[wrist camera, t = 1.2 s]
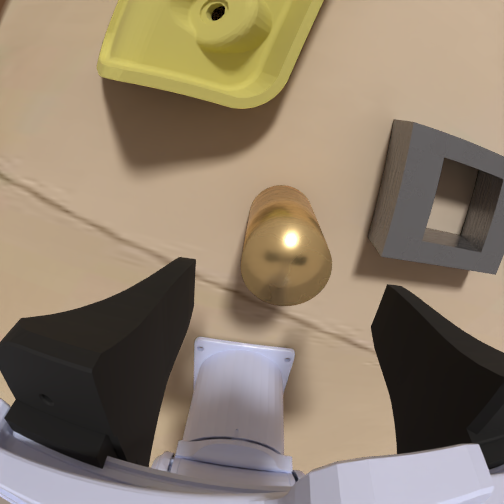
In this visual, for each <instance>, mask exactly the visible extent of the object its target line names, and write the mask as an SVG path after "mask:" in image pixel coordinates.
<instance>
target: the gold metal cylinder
mask: <svg viewBox="0 0 504 504" xmlns="http://www.w3.org/2000/svg"><path fill="white" fill-rule="evenodd" d="M331 270H332V258H331V254H330V251H329V249H328V246H327V244H326V241H325V239H324V236H323V234H322V231H321V229H320V226H319V224H318V221H317V219H316V217H315V214H314V212H313V209H312V207H311V205H310V202H309V201H308V199H307V198H306V196H305V195H304V194H303V193H302V192H300V191H299V190H297V189H295V188H293V187H290V186H283V185H280V186H273V187H270V188H267V189H265V190H264V191H262V192H261V193H260V194H259V195H258V196H257V197H256V198H255V199H254V201H253V203H252V205H251V208H250V213H249V219H248V225H247V230H246V236H245V242H244V247H243V253H242V259H241V274H242V278H243V280H244V283H245V284H246V286H247V288H248V289H249V290H250V291H251V292H252V293H253V294H254V295H255V296H256V297H258V298H259V299H261V300H262V301H265V302H267V303H270V304H273V305H278V306H292V305H297V304H301V303H304V302H306V301H308V300H310V299H312V298H313V297H315V296H316V295H317V294H318V293H319V292H320V291H321V290H322V289H323V288H324V287H325V285H326V284H327V282H328V280H329V277H330V275H331Z"/></svg>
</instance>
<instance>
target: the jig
mask: <svg viewBox="0 0 504 504" xmlns="http://www.w3.org/2000/svg"><path fill="white" fill-rule="evenodd" d="M444 157H445V158H448V159H451V160H454V161H457V162H460V163H462V164H465V165H468V166H471V167H474V168H476V169H479V172H478V176H477V180H476V184H475V188H474V192H473V196H472V200H471V203H470V207H469V210H468V213H467V217H466V220H465V223H464V226H463V230H462V233H461V235H457V234H452V233H448V232H443V231H438V230H434V229H429V228H426V226H427V223H428V219H429V216H430V212H431V209H432V205H433V201H434V198H435V194H436V190H437V186H438V182H439V178H440V174H441V170H442V165H443V161H444ZM368 238H369V240H370V241H371V242H372V244H373V245H374V247H375V248H376V250H377V251H378V253H379V254H380V256H381V257H387V258H394V259H400V260H407V261H413V262H420V263H426V264H433V265H439V266H445V267H452V268H458V269H464V270H471V271H477V272H483V273H489V274H495V275H496V273H497V270H498V268H499V265H500V263H501V260H502V257H503V255H504V157H503V156H501V155H499V154H497V153H495V152H492V151H490V150H488V149H485V148H483V147H481V146H478V145H476V144H473V143H471V142H468V141H466V140H463V139H461V138H458V137H455V136H453V135H450V134H447V133H445V132H442V131H439V130H436V129H433V128H430V127H427V126H424V125H421V124H418V123H415V122H409V121H402V120H395V119H394V122H393V127H392V133H391V138H390V143H389V149H388V154H387V159H386V163H385V168H384V173H383V177H382V182H381V186H380V190H379V195H378V199H377V203H376V207H375V211H374V215H373V219H372V223H371V227H370V230H369V234H368Z"/></svg>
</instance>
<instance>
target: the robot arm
mask: <svg viewBox="0 0 504 504" xmlns="http://www.w3.org/2000/svg"><path fill="white" fill-rule="evenodd" d="M195 267H196V259H190V258H183V257H179V258H177V259H175V260H174V261H172V262H171V263H169V264H168V265H166V266H165V267H163V268H162V269H160V270H159V271H157V272H156V273H154V274H153V275H151V276H150V277H148V278H146V279H144V280H143V281H141V282H139V283H137V284H136V285H134V286H132V287H130V288H129V289H127V290H125V291H123V292H121V293H119V294H116V295H114V296H112V297H109V298H107V299H105V300H102V301H99V302H96V303H93V304H90V305H87V306H84V307H81V308H78V309H74V310H70V311H66V312H61V313H56V314H51V315H44V316H36V317H28V318H21V319H20V320H19V321H18V322H17V323H16V324H15V326H14V327H13V328H12V329H11V330H10V331H9V332H8V334H7V335H6V336H5V337H4V338H3V339H2V341H1V342H0V371H1V373H2V375H3V377H4V379H5V380H6V382H7V384H8V386H9V388H10V390H11V391H12V393H13V395H14V397H15V399H16V400H15V402H14V403H13V405H12V406H11V407H10V405H8V404H7V403H6V402H5V401H4V400H2V399H1V398H0V497H2V498H3V499H5V500H7V501H8V502H10V503H11V504H504V353H503V352H501V351H499V350H497V349H495V348H493V347H491V346H489V345H487V344H485V343H483V342H481V341H479V340H477V339H476V338H474V337H472V336H471V335H469V334H468V333H466V332H464V331H463V330H461V329H460V328H458V327H457V326H455V325H454V324H453V323H451V322H450V321H448V320H447V319H446V318H444V317H443V316H442V315H440V314H439V313H438V312H436V311H435V310H434V309H433V308H431V307H430V306H429V305H427V304H426V303H425V302H423V301H422V300H421V299H420V298H418V297H417V296H416V295H414V294H413V293H411V292H410V291H408V290H407V289H405V288H403V287H402V286H396V285H388V284H387V286H386V289H385V292H384V294H383V297H382V300H381V302H380V305H379V308H378V310H377V313H376V315H375V318H374V320H373V323H372V325H371V330H372V337H373V342H374V347H375V351H376V354H377V357H378V360H379V363H380V366H381V370H382V373H383V376H384V379H385V382H386V385H387V388H388V391H389V395H390V399H391V403H392V409H393V416H394V422H395V431H396V442H397V454H394V455H384V456H372V457H362V458H356V459H350V460H343V461H337V462H334V463H331V464H328V465H325V466H322V467H319V468H316V469H313V470H312V471H310V472H309V473H308V474H306V475H305V474H304V473H303V472H302V471H300V470H292V457H291V456H285V455H284V415H283V393H284V390H285V387H286V384H287V380H288V377H289V374H290V371H291V367H292V364H293V361H294V357H295V351H294V350H293V349H291V348H282V347H273V346H264V345H256V344H248V343H240V342H232V341H225V340H218V339H212V338H205V337H197V338H196V339H195V343H194V393H193V397H192V401H191V405H190V410H189V414H188V418H187V422H186V427H185V431H184V435H183V440H179V441H178V446H177V450H176V454H175V456H174V453H172V452H168V451H165V452H164V453H163V454H162V455H160V456H158V457H156V459H155V460H154V462H153V464H152V467H151V468H149V461H150V455H151V450H152V445H153V440H154V435H155V430H156V425H157V421H158V416H159V412H160V408H161V404H162V400H163V396H164V392H165V388H166V384H167V381H168V378H169V375H170V372H171V370H172V367H173V365H174V362H175V360H176V357H177V355H178V352H179V350H180V347H181V345H182V343H183V340H184V338H185V335H186V333H187V330H188V327H189V323H190V320H191V316H192V312H193V308H194V289H195ZM200 347H203V348H200ZM285 358H289V359H285Z"/></svg>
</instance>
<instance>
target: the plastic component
mask: <svg viewBox="0 0 504 504" xmlns="http://www.w3.org/2000/svg"><path fill="white" fill-rule="evenodd" d="M323 1H324V0H118V3H117V5H116V8H115V10H114V13H113V15H112V18H111V21H110V23H109V26H108V29H107V32H106V34H105V37H104V41H103V44H102V47H101V51H100V54H99V58H98V63H97V70H98V73H99V76H101V77H104V78H108V79H112V80H116V81H121V82H127V83H132V84H137V85H142V86H147V87H152V88H156V89H161V90H165V91H170V92H174V93H178V94H182V95H186V96H190V97H194V98H198V99H202V100H205V101H209V102H213V103H216V104H220V105H223V106H227V107H230V108H238V109H246V108H253V107H257V106H259V105H262V104H264V103H267V102H268V101H269V100H271V99H272V98H274V97H275V96H276V95H277V94H278V93H279V92H280V91H281V90H282V89H283V87H284V86H285V84H286V83H287V81H288V79H289V76H290V74H291V72H292V69H293V67H294V65H295V63H296V60H297V58H298V56H299V54H300V51H301V49H302V47H303V45H304V42H305V40H306V38H307V36H308V33H309V31H310V29H311V27H312V25H313V22H314V20H315V18H316V16H317V14H318V11H319V9H320V7H321V5H322V3H323ZM220 6H224V7H225V14H224V15H223V16H222V18H220V19H218V20H216V21H213V20H212V18H211V16H212V12H213V11H214V10H215V9H216V8H218V7H220Z"/></svg>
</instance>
